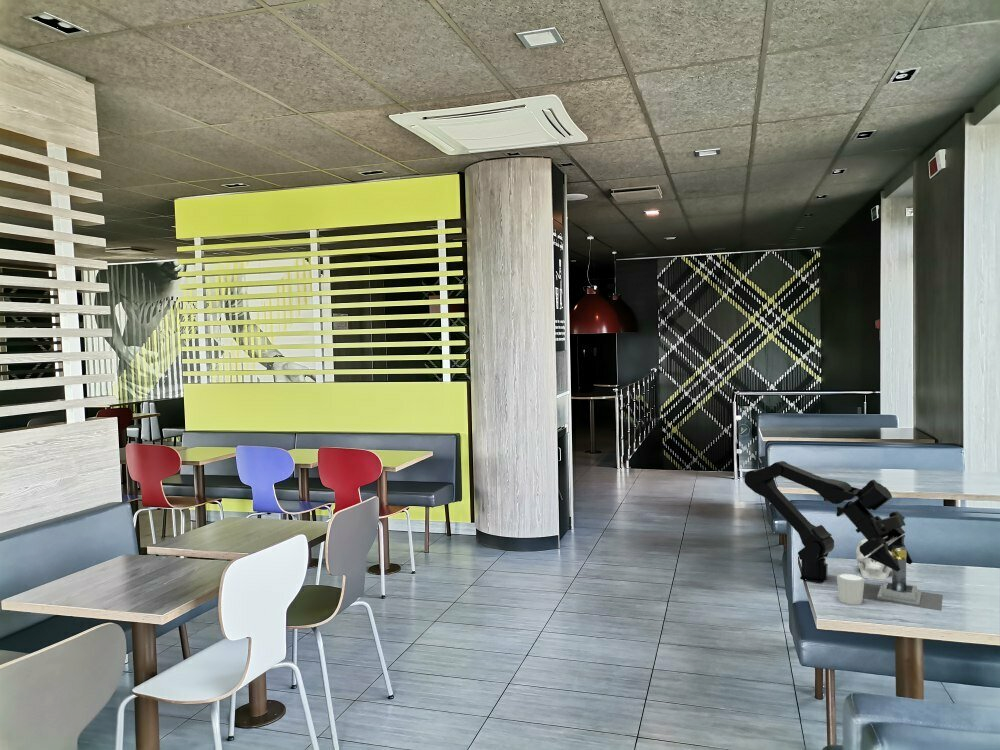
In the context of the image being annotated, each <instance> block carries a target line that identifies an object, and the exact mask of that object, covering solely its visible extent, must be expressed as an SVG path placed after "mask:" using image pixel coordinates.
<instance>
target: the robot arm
mask: <svg viewBox="0 0 1000 750" xmlns="http://www.w3.org/2000/svg"><path fill="white" fill-rule="evenodd" d="M778 477H782V478H784V479H787V480H789V481H791V482H794V483H796V484H798V485H801V486H803V487H805V488H808V489H811V490H813V491H814V492H816V493H817V494H818V495H819V496H820V497H822V498H823V499H824V500H826V501H828V502H829V503H832V504H835V505H839V504H842V503H844V502H846V503H845V504H844V505H839V506H837V507H836V514H835V515H836V517H837V518H838V517H840V516H844V515H845V516H846V517H847V518H848V520H849V521H850V522H851V523H852V524H853V525H854V527H856V529H855V532H856V533H857V534H859V533H861V534H862V536H864V539H867V540H868V541H866V542H865V543H864V544H862V545H861V546H860V552H861V554H862V555H863V556H864V557H865V556H867V555H869V554H870V553H871V555H869V556H868V558H871V559H873V560H875V561H877V562H880V563H882V564H884V565H886V566H887V567H889V568H891V569H893V570H895V571H897V572H898V571H899V570H900V567H899V566H898V564H897V563H896V561H895V560H894V559H893V557H892V556H891V554H890V553H889V551H890V552H892V546H904V547H906V545H905V542H904V541H905V537H906V535H905V534H906V531H905V530H904V529H903V526H904V527H905V526H906V523H905V521H904V520H905V519H906V518H905V516H903V515H902V513H900V512H898V511H897V510H896V511H893V512H892V511H891V512H890V513H889V516H888V517H885V518H881V517H880V516H878V515H874V514H873V513H872V512H871V511H870V510H872V511H877V510H878V509H880V508H881V507H882V506H884V505H885V504H886V503H887V502H888V501H890V500H891V499H892V498H893V495H892V493H891V492H890V490H889V489H888V488H887V487H886V486H884V485H882V484H881V483H880V482H877V481H876V480H875V479H872V480H869V481H868V482H867V483H866V484H865V485H864V486H863V487H862V488H859V487H854V486H851V484H850V483H848V482H846V481H843V480H838V479H832V478H825V477H822V476H819V475H817V474H814V473H812V472H809V471H807V470H805V469H802V468H799V467H797V466H794V465H793V464H790V463H788V462H787V461H784V460H780V461H776V462H774V463H773V464H771V465H768V466H766V467H763V468H757V469H756V468H755V469H752V470H748V471H747V472H746V473H745V475H744V480H743V481H744V484H745V485H746V487H748V488H749V489H750V490H752V492H754V493H755V494H757V495H759V496H761V497H763V498H765V499H766V501H768V502H769V504H770V505H771V506H772V507H773V508H774V509H775V510H776V511H777V512H778V514H780V515H781V516H782V517H783V518H784V519H785V521H787V523H789V525H790V526H791V527H792V529H793V530H795V531H796V532H797V534H798V535H799V538H800V540H801V544H802V545H803V546H804V547H803V548H801V549H800V550H799V551H797V555H798V558H799V560H801V567H800V568H801V570H800V571H801V575H800V576H799V580H801V581H802V580H803V581H809V582H815V583H821V584H822V583H824V582H826V581H825V580H827V578H828V577H829V576H828V575H829V573H828V568H829V567H828V566H829V565H828V563H826V560H827V559H826V558H827V557H828V556H829V553H831V552H832V551H833V550H834V548H835V540H834V538H833V537H832V535H833V534H832V533H830V532H829V531H827V529H826V528H825V526H823V525H822V524H820V525H815V524H812V523H811V522H810V521H809V520H808V519H807V518H806V517H805V515H803V514H802V512H800V511H799V509H798V508H797V507H796V506H795V505H794V504H793V503H792V502H791V501H790V500H789V499H788V498H787V497H786V496H785V495H784V494H783V493H782V492H781V491H780V489H779V488H778V486H777V484H776V480H775V479H776V478H778ZM856 498H857V499H856ZM853 499H856V500H855V501H853ZM888 550H889V551H888ZM913 563H914V562H913V559H912V558H911V555H910V553H909V551H908V549H907V548H906V564H909V565H911V564H913ZM805 579H806V580H805Z"/></svg>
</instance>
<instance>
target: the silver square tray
mask: <svg viewBox="0 0 1000 750" xmlns="http://www.w3.org/2000/svg"><path fill="white" fill-rule="evenodd" d="M880 586H881V587H880V590H879V593H878V595H877V599H879V600H885V601H892V602H898V603H904V604H910V605H917V606H920V600H921V592H922V591H920V592H918V591H919V590H918V586H917V585H913V584H912V585H911V584H907V583H906V592H903V591H897V590H892V581H884V582H883V585H880Z"/></svg>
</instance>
